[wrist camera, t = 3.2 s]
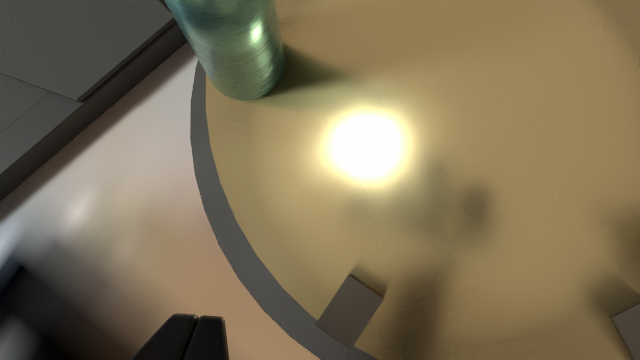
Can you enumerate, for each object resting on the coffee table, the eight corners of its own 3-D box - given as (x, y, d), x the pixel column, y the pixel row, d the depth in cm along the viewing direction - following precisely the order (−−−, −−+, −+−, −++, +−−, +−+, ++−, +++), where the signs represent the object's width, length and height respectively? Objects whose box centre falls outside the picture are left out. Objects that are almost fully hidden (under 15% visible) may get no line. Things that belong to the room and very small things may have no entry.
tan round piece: (528, 496, 14) (950, 955, 5) (117, 147, 16) (-188, -38, 6) (819, 75, 16) (1531, -202, 7) (428, -194, 18) (550, -724, 8)
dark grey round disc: (506, 508, 16) (541, 553, 14) (93, 155, 18) (56, 136, 16) (791, 100, 18) (867, 72, 16) (396, -176, 20) (407, -240, 18)
